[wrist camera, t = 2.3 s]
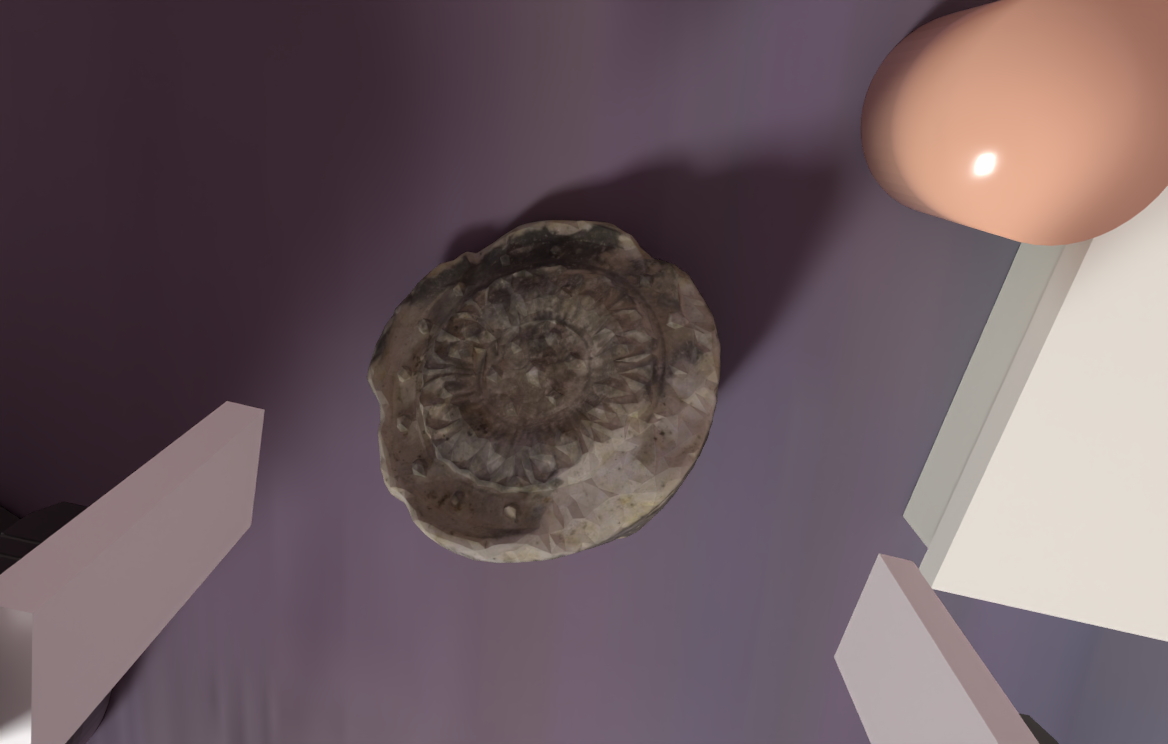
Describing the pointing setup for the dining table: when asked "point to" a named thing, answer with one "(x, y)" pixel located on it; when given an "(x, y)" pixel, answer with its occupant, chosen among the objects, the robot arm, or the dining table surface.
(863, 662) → the robot arm
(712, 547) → the dining table surface
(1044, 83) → the peach rounded glossy part
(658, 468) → the fossil
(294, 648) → the dining table surface
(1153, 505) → the stand
